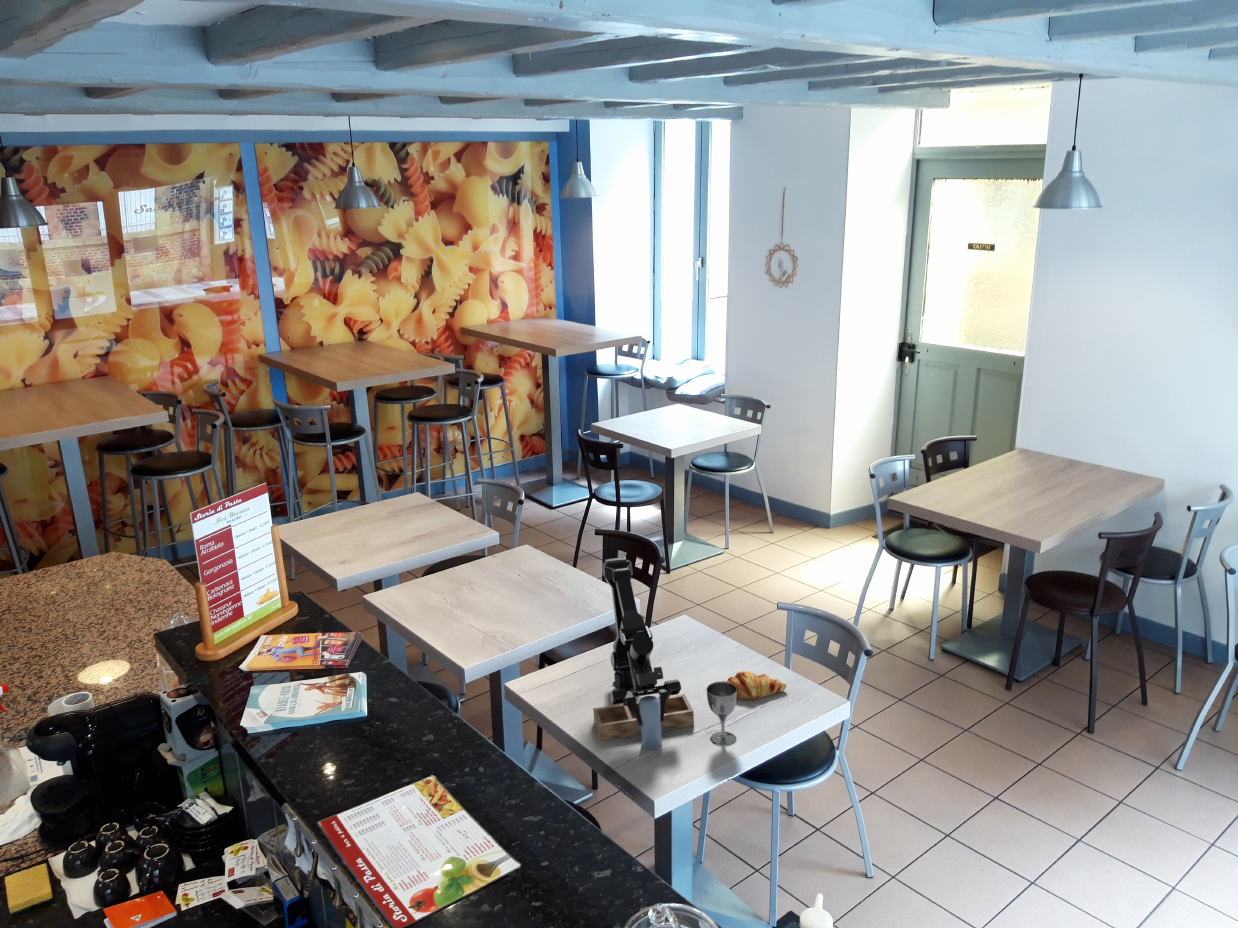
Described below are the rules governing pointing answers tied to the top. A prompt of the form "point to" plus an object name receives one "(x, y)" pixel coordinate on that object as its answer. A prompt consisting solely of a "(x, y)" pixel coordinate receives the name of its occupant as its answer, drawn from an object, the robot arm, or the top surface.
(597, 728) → the rack
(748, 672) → the croissant
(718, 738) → the wine glass
